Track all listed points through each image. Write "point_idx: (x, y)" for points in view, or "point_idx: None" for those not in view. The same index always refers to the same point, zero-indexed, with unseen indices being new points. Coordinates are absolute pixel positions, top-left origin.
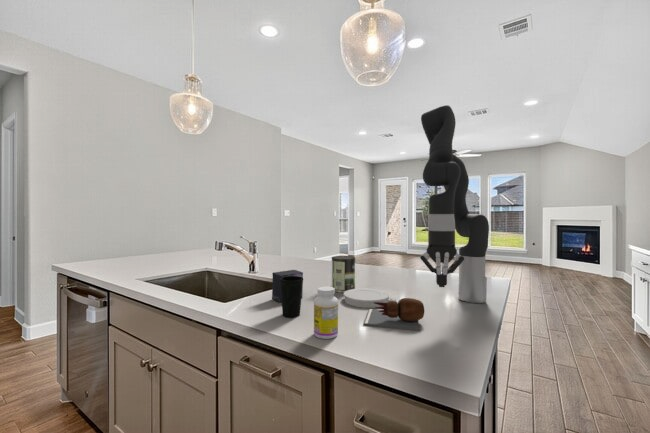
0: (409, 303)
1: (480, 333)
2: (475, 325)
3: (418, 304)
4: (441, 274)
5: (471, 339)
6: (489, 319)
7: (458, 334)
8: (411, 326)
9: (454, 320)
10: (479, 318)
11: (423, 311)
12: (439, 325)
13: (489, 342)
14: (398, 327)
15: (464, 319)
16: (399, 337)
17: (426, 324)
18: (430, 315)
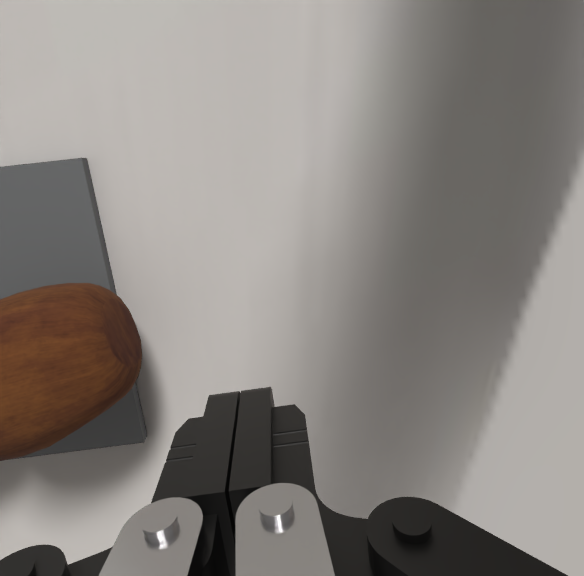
0: (6, 456)
1: (457, 349)
2: (456, 228)
3: (78, 423)
4: (235, 551)
5: (399, 444)
6: (575, 60)
7: (344, 406)
8: (97, 427)
9: (339, 179)
10: (511, 63)
11: (132, 386)
12: (247, 311)
13: (474, 447)
14: (31, 453)
15: (406, 130)
16: (71, 546)
17: (172, 324)
18: (177, 129)
